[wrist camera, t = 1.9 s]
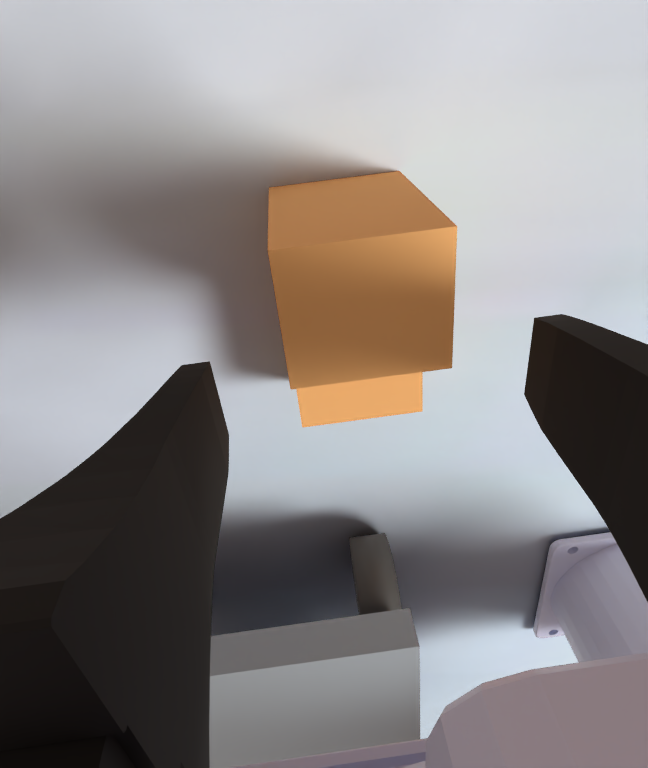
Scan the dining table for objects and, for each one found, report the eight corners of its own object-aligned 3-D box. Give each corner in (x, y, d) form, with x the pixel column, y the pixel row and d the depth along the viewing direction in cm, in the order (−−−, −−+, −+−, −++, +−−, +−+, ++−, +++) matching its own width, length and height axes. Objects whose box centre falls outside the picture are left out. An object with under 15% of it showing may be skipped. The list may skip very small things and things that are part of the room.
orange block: (398, 170, 16) (457, 226, 11) (403, 365, 20) (448, 473, 15) (268, 186, 16) (267, 250, 11) (298, 378, 20) (307, 492, 15)
